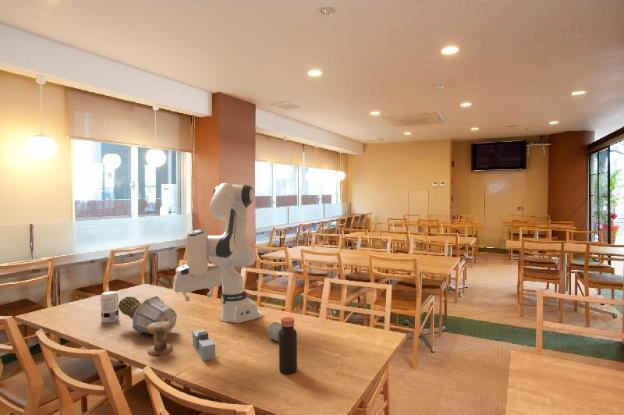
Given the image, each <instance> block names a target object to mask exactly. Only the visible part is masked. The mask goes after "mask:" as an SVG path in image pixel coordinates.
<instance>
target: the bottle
mask: <svg viewBox="0 0 624 415" xmlns="http://www.w3.org/2000/svg"><path fill="white" fill-rule="evenodd" d="M280 324H281V326H282V329H281V330H280V332H279V342H278V356H279V358H278V362H279V363H278V366H279V367H278V369H279V372H280V373H281V374H283V375H292V374H295V373H296V372H297V371H298V342H297V341H298V338H297V336H298V333H297V330H296V329H295V328H294V326H295V317H290V316H285V317H282V318H281V320H280Z"/></svg>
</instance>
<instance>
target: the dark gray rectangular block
mask: <svg viewBox="0 0 624 415" xmlns="http://www.w3.org/2000/svg"><path fill="white" fill-rule="evenodd" d="M204 339H209V333H208V331H207V330H205V332H199V333H198V349H199V340H204Z"/></svg>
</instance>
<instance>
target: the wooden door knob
mask: <svg viewBox="0 0 624 415" xmlns="http://www.w3.org/2000/svg"><path fill="white" fill-rule="evenodd" d="M170 328H172V323H171V322H167V321H161V322H155V323H152V324H150V325H148V326H147V330H148V331H150V332H154V335H153V345H152V346H150V347H148V349H147V354H148V355H149V356H163V355H166V354H169V353H171V352H172V351H173V350H174V349H173V348H174V346H173V344H171V343H167V335H166V330H169V329H170ZM172 329H173V328H172Z"/></svg>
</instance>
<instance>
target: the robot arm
mask: <svg viewBox="0 0 624 415" xmlns="http://www.w3.org/2000/svg"><path fill="white" fill-rule="evenodd" d="M254 199H255V191H254V188H253V187H252V186H251V185H249V184H238V183H237V184H236V183H235V184H234V183H233V184H232V183H230V182H229V183H228V182H223V183H220V185H217V186H215V187H214V188H213V191H212V197H211V200H210V202H209V206H208V207H209V208H208V209H209V212H210V213H211V215H212V216H213V217H214V218H216V219H217V220H219V221H222V222H224V223H225V224H224V226H225V227H224V232H223V234H220V235H219V234H218V235H215V234H214V235H213V234H209V235H208V234H206V231H205V230H204V229H193V230H189V232H188V233H187V234H186V240H185V254H186V263H184V264H183V265H180V266H178V267H176V268H175V275H174V276H173V283H172V284H173V285H172V288H173V291H174V293H178V294H179V293H182V295H183V296H184V299H185V300H184V301H185V302H189V301H190V296H189V295H187V293H188V292H191V291H196V290H197V291H198V290H204V289H209V292H207V294H206V296H207V298H213V297H212V293H213V291H214V290H215V288H216V287H217V288H218V287H220V286H221V287H222V292H221V303H222V304H221V312H220V316H219V320H220V321H222V322H224V323H235V324H240V323H243V322H248V321H253V320H256V319H258V318H262V317H263V312H261V311H260V310H259V308H258V305H257V303H256V302H255V301H253V300H252V299H250V298H249V297H250V295H251V293H250V292H249V291H248V292H247V291H246V290H245V289H244V276H243V275H242V274H240V273H239V272H237V270H236V269H235V267H237V268H238V267H239V268H240V267H241V268H242V267H243V268H245V267H251V266H252V265H254V263H255V261H256V258H257V254H256V251H255V250H254V248H253V247H252V246H251V244H249V241H248V239H247V221H248V209H247V208H248V207H249V206H250V205H252V203H253V201H254ZM208 259H209V261H210V263H211V264H212V265H209V261H208Z"/></svg>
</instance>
